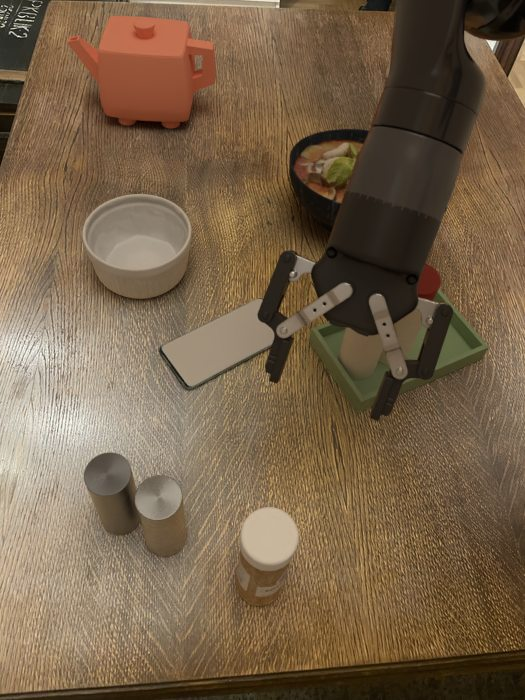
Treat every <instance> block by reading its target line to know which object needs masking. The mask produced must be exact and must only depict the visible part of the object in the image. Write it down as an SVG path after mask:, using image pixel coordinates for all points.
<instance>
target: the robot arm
mask: <svg viewBox="0 0 525 700" xmlns="http://www.w3.org/2000/svg"><path fill="white" fill-rule="evenodd" d="M465 33H467V34H469V35H470V36H472V37H474V38H477V39H481V40H485V41H493V42H509V41H515V40H518V39H522V38H524V37H525V0H395V7H394V17H393V28H392V36H391V37H392V38H391V50H390V51H391V52H390V55H391V61H390V69H389V74H388V78H386V81H385V84H384V87H383V90H382V92H381V96H380V99H379V100H378V104H377V107H376V109H375V112H374V116H373V119H372V122H371V125H370V128H369V130H368V131H369V132H368V135H367V137H366V139H365V141H364V143H363V145H362V147H361V149H360V152H359V154H358V156H357V159H356V161H355V164H354V167H353V170H352V173H351V176H350V178H349V181H348V185H347V188H346V191H345V193H344V196H343V199H342V202H341V205H340V208H339V211H338V214H337V217H336V220H335V223H334V226H333V229H332V231H330V234H329V238H328V241H327V244H326V247H325V250H324V252H323V254H322V255H321V257H320V258H319V259H318V260H317V261H314V260H311V259H309V258H307V257H304V256H302V255H299V253H298V252H297V251H295V250H294V249H293V250H292V249H291V250H284V251H282V252H281V253H280V255H279V257H278V260H277V261H276V262H277V263H276V265H275V267H274V270H273V273H272V275H271V278H270V281H269V282H268V286H267V288H266V291H265V293H264V295H263V301H262V303H261V306H260V309H259V311H258V314H257V316H258V319H259V321H261V322H262V323H265V324H266V325H268V326H269V327H270V328H271V329H272V330H273V332H274V340H273V343H272V346H271V347H270V349H269V352H268V355H267V358H266V362H265V365H264V371H265V372H264V373H266V374H269V378H268V382H271V383H273V384H275V385H278V383H279V382H280V381H281V378H282V376H283V373H284V370H285V367H286V364H287V361H288V358H289V355H290V352H291V349H292V346H293V343H294V340H295V337H294V336H293V335H294V334H295V333H297V332H298V331H300V330H301V329H302V328H305V327H306V326H307V325H309V324H311V323H312V322H314V321H315V320H317V319H319V317H321V316H323V318H324V319H325V321H326V320H327V322H330V323H329V324H332V325H335V326H338V327H347V328H351V329H352V330H354V331H355V332H357V333H358V334H361V335H364V336H367V337H368V336H373V335H377V334H379V336H380V339H381V342H382V345H383V348H384V351H385V353H386V356H387V360H388V363H389V366H390V369H389V371H386V372H385V374H384V377H383V380H382V382H381V385H380V387H379V390H378V393H377V395H376V398H375V401H374V403H373V406H372V407H371V408H370V412H369V419H370V420H373V421H376V422H379V421H380V419H381V416H383V417H385V418H386V417H388V416H389V415H390V414H391V413H392V412H393V409H394V407H395V403H396V401H397V399H398V396H399V395H398V393H399V391H400V388H401V386H402V383H403V382H404V381H405V380H407V379H410V378H421V379H423V380H428V379H430V378H431V377H432V376H433V374H434V371H435V368H436V365H437V362H438V358H439V355H440V352H441V349H442V346H443V343H444V340H445V337H446V334H447V331H448V328H449V325H450V322H451V319H452V316H453V309H452V307H451V306H450V305H449V304H448V303H447V302H444V301H439V302H436V301H433V300H429V299H425V298H421V297H418V283H419V280H420V277H421V275H422V272H423V269H424V267H425V264H427V261H428V259H429V255H430V253H431V250H432V248H433V245H434V243H435V240H436V238H437V235H438V232H439V230H440V227H441V225H442V221H443V219H444V216H445V214H446V212H447V210H448V206H449V203H450V201H451V198H452V195H453V192H454V190H455V186H456V183H457V179H458V174H459V170H460V166H461V162H462V160H463V155H464V153H465V150H466V148H467V145H468V142H469V140H470V138H471V135H472V132H473V129H474V127H475V124H476V122H477V118H478V117H479V114H480V112H481V109H482V106H483V103H484V99H485V95H486V91H487V79H486V75H485V74H484V72H483V70H482V69H481V67H480V66H479V64H478V63H477V62H476V61H475V59H474V58H473V56H472V55H471V53H470V52H469V50H468V48H467V45H466V41H465ZM305 274H310V278H311V282H312V284H313V288H314V291H315V294H316V298H315V299H314V300H312V301H311V302H309V303H308V304H306V305H305V306H304V307H301V309H299V310H298V311H296V312H294V313H293V314H292V315H290V316H289V317H286V316H285V315H284V314H283V313H282V312H281V311H280V309H281V306H282V303H283V301H284V299H285V296H286V294H287V291H288V288H289V286H290V283H295V282H298V281H300V280H301V279H302V278H303V276H304V275H305ZM415 309H417V310H418V311H420V313H421V323H422V325H423V326H424V327H426V328H427V331H426V334H425V337H424V340H423V343H422V346H421V349H420V352H419V356H418V359H417V360H405V358H404V355H403V352H402V349H401V345H400V342H399V339H398V336H397V332H396V329H395V326H394V324H395V323H396V322H398V321H399V320H401V319H402V318H404V317H405V316H407V315H408V314H410V313H411V312H413V311H414V310H415Z"/></svg>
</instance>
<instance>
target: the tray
mask: <svg viewBox="0 0 525 700" xmlns="http://www.w3.org/2000/svg"><path fill="white" fill-rule="evenodd" d="M434 301H436V302H439V301H444V302H447V303H448V304H449V305H450V306H451V307H452V309H453V316H452V319H451V322H450V325H449V328H448V331H447V334H446V337H445V340H444V343H443V346H442V349H441V352H440V355H439V358H438V362H437V365H436V368H435V371H434V374H433V376H432V377H431V378H430V379H428V380H423V379H421V378H410V379H407V380H405V381H404V382H403V383H402V386H401V388H400V391H399V393H398V396H400V395H402V394H405V393H407V392H409V391H412V390H414V389H416V388H418V387H421V386H424V385H425V384H428V383H431V382H432V381H435V380H436V379H439V378H442V377H444V376H447V375H449V374H451V373H453V372H455V371H458V370H460V369H463V368H464V367H467V366H469V365H472V364H474V363H476V362H478V361H480V360H482V359H483V358H484V356H485V355H486V353H487V351H488V350H489V348H490V346H489V345H488V344H487V342H486V341H485V340H484V338H482V337H481V335H480V334H479V333H478V332H477V331H476V330H475V328H474V327H473V326H472V325H471V323H470V322H469V321H468V320H467V319H466V318H465V316H463V314H462V313H461V312H460V311H459V309H457V308H456V306H455V305H454V304H453V302H451V300H450V299H449V298H448V297H447V295H446V294H445V293H444V292H443V291H442V290H441V289H440V288H439V290H438V292H437V294H436V296H435V298H434ZM329 323H330V322H329V321H326V322H324V323H321V324H319V325H316V326H313V327H311V329H310V333H309V337H308V342H309V345H311V347H312V348H313V350H314V351H315V353H316V355H318V356H317V357H318V358H319V359H320V361H322V363H323V365H324V367H325V368H326V370H327V371H328V372H329V374H330V375H331V377H332V378H333V380H334V382H335V383H336V385H337V386H338V388H339V389H340V391H341V392H342V394H343V395H344V397H345V398H346V400H347V401H348V402H349V404H350V406H351V408H352V409H353V410H354V412H355V413H356V414H359V413H361V412H364V411H366V410H368V409H371V408H372V406H373V403H374V401H375V398H376V395H377V393H378V390H379V387H380V385H381V382H382V380H383V377H384V374H385V372H386V371H389V369H390V366H389V365H386V364H383V363H381V362H379V361H378V363H377V366H376V368H375V371H374V373H373V374H372V375H371V376H370V377H368V378H366V379H361V380H357V379H352V378H350V377H349V375H348V374H347V372H346V371H345V369H344V368H343V366H342V365H341V363H340V362H339V360H338V359H337V358H338V354H339V351H340V348H341V344H342V341H343V337H344V334H345V330H346V327H338V326H335V325H332V324H329ZM426 331H427V328H426V327H424V326H423V325H422V327H421V329H420V331H419V333H418V336H417V338H416V340H415V342H414V344H413V347H412V349H411V351H410V353H409V355H408V358H407V359H406V360H417V359H418V356H419V352H420V349H421V346H422V343H423V340H424V337H425V334H426Z"/></svg>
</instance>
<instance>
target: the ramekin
mask: <svg viewBox="0 0 525 700" xmlns="http://www.w3.org/2000/svg"><path fill="white" fill-rule="evenodd" d="M81 240H82V245H83V249H84V251H85V253H86V255H87V257H88V258H89V259H90V261H91V264H92V267H93V269H94V272H95V274H96V276H97V277H98V279H99V281H100V283H102V285H103V286H104V287H105V288H107V289H108V290H110V291H111V292H113V293H115V294H116V295H119V296H122V297H124V298H129V299H137V300H142V299H151V298H155V297H158V296H162V295H163V294H166V293H167V292H169V291H170V290H172V289H174V288H175V287H176V286H177V285H178V284H179V283H180V281H182V279H183V277H184V276H185V273H186V272H187V268H188V264H189V263H188V262H189V256H190V248H191V246H192V243H193V242H192V241H193V231H192V224H191V221H190V219H189V217H188V215H187V214H186V212H185V211H184V210H183V209H182V208H181V207H180V206H179V205H178V204H176V203H175V202H173V201H171V200H169V199H167V198H164V197H161V196H158V195H153V194H147V193H135V194H133V193H132V194H126V195H121V196H117V197H115V198H112V199H109V200H107V201H105V202H103V203H101V204H100V205H98V206H97V207H96V208H95V209H93V211H92V212H91V213H89V215H88V216H87V217H86V219H85V221H84V223H83V226H82V230H81Z"/></svg>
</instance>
